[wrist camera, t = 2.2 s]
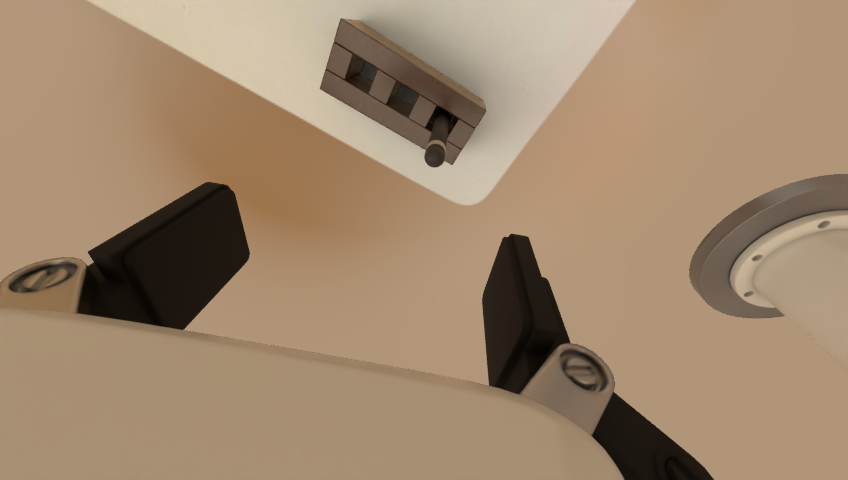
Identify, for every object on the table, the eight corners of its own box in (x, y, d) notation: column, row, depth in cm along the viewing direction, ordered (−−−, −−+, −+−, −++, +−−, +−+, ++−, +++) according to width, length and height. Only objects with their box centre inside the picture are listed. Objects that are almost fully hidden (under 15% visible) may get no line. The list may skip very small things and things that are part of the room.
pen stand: (358, 19, 25) (340, 17, 21) (483, 100, 27) (486, 110, 24) (338, 81, 28) (319, 89, 24) (453, 149, 30) (452, 165, 26)
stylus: (451, 105, 28) (446, 151, 17) (449, 119, 29) (442, 172, 18) (438, 103, 28) (424, 148, 17) (436, 117, 29) (422, 168, 18)
